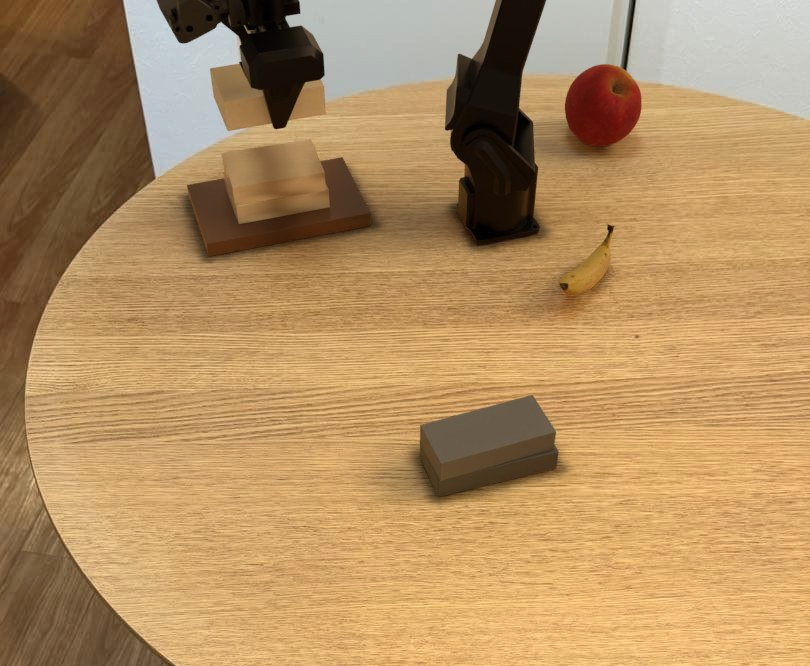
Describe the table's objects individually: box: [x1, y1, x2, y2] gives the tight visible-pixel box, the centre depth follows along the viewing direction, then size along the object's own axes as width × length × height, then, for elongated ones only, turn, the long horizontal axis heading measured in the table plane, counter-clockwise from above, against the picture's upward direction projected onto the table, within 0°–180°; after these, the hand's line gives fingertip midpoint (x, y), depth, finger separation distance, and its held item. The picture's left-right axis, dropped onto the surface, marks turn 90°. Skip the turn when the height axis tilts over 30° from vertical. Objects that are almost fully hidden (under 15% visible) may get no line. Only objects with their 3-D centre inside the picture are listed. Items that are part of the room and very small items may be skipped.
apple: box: [564, 63, 642, 147], centre depth 119 cm, size 8×8×8 cm
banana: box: [557, 223, 615, 296], centre depth 105 cm, size 10×2×4 cm, turn 149°
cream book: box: [209, 63, 327, 132], centre depth 103 cm, size 9×6×3 cm, turn 108°
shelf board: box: [186, 138, 372, 257], centre depth 112 cm, size 16×10×6 cm, turn 108°
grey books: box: [419, 394, 559, 498], centre depth 91 cm, size 10×5×4 cm, turn 107°
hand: (270, 109), depth 105 cm, fingers closed on cream book, 6 cm apart
